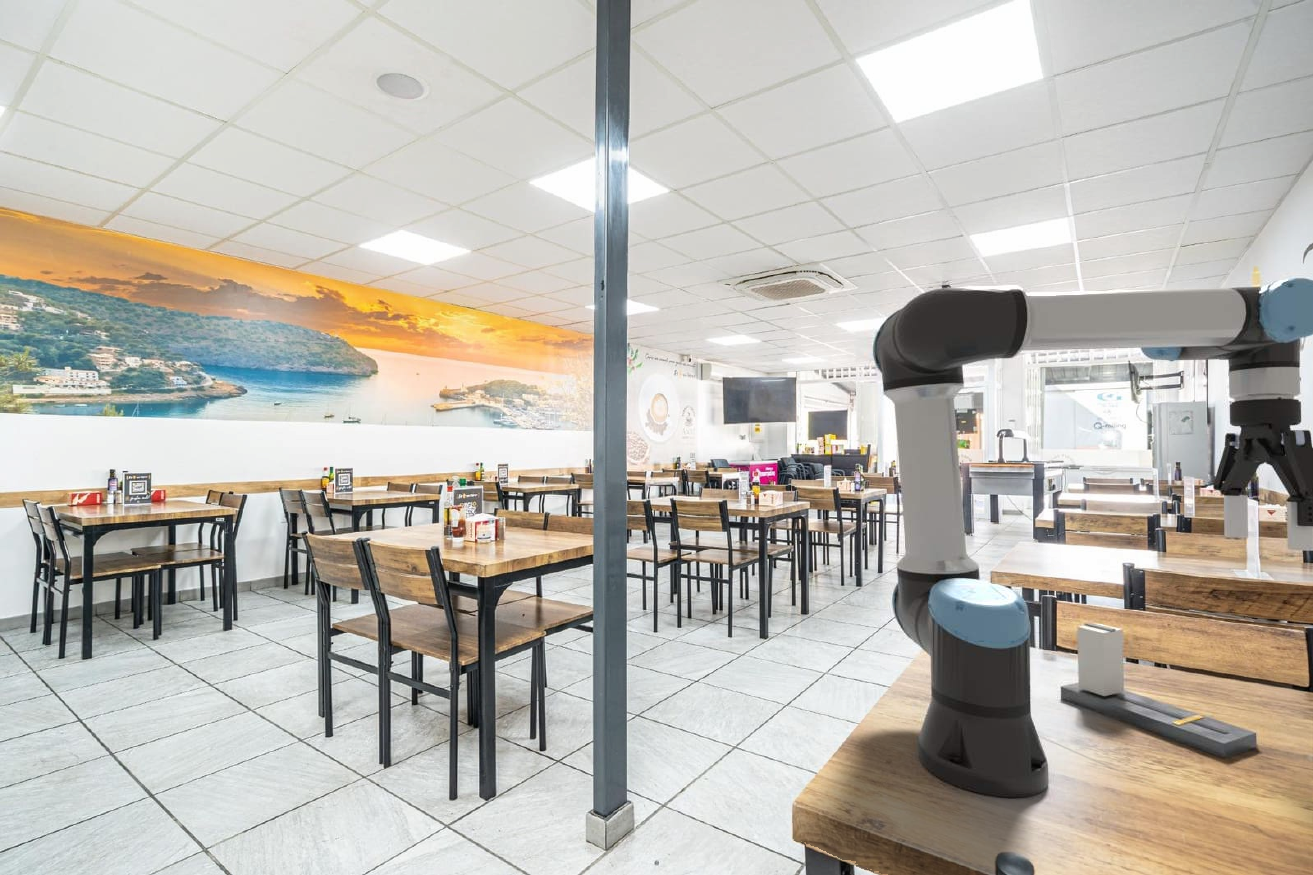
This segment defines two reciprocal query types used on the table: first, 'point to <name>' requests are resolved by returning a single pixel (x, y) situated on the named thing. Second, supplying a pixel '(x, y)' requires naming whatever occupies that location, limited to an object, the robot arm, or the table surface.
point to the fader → (1100, 659)
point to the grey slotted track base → (1166, 720)
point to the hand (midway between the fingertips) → (1266, 543)
